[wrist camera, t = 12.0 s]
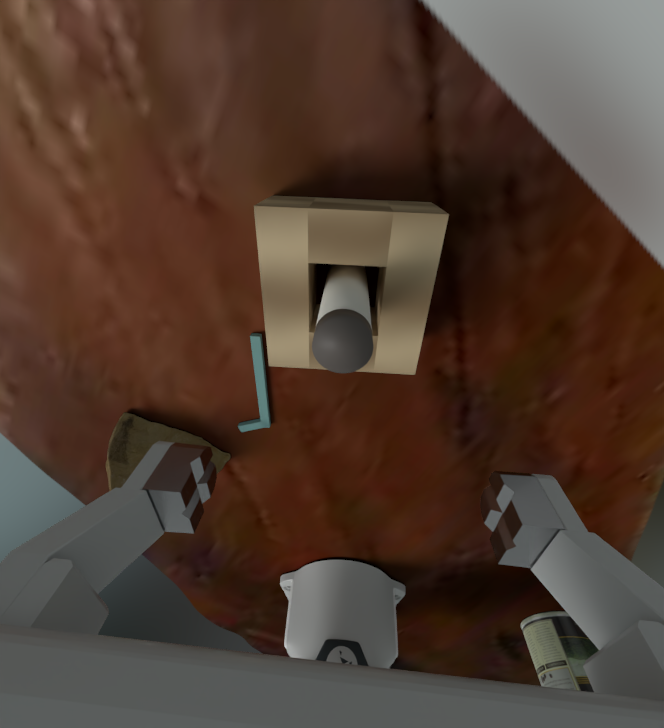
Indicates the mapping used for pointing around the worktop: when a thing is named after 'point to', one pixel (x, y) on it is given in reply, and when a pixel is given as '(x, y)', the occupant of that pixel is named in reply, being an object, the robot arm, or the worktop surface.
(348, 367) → the long grey cylinder
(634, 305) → the worktop surface
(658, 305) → the worktop surface
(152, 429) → the rock
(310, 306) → the wooden block with hole
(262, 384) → the hex key
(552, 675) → the coffee can
